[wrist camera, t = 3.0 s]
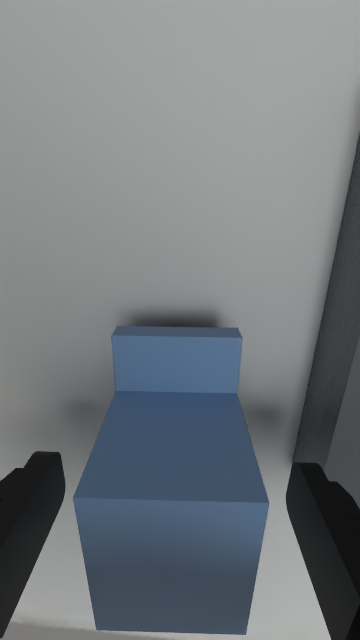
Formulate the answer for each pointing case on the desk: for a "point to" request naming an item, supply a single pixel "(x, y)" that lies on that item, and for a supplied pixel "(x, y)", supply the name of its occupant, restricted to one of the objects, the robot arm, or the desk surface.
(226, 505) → the block
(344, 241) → the plate
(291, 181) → the desk surface
